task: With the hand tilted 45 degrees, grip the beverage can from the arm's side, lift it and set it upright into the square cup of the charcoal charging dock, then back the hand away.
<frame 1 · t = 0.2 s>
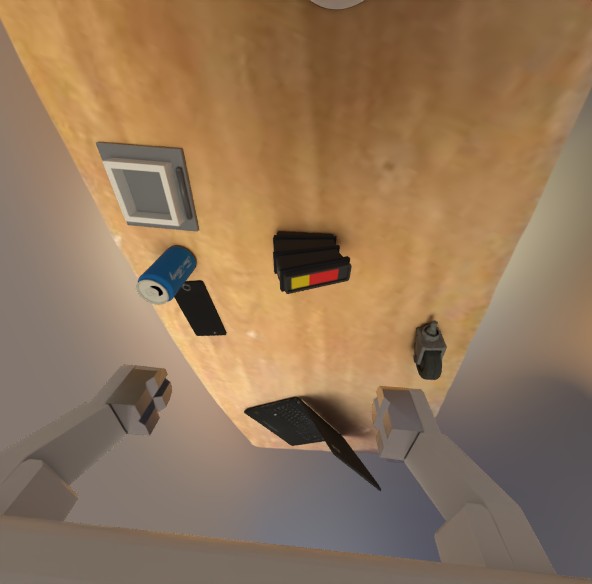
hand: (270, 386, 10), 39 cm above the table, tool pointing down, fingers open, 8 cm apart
caster wheel: (423, 335, 62), on the table
beverage can: (183, 257, 54), on the table
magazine: (311, 239, 48), on the table
cell phone: (200, 308, 64), on the table
laptop: (309, 418, 95), on the table
charging dock: (153, 189, 45), on the table
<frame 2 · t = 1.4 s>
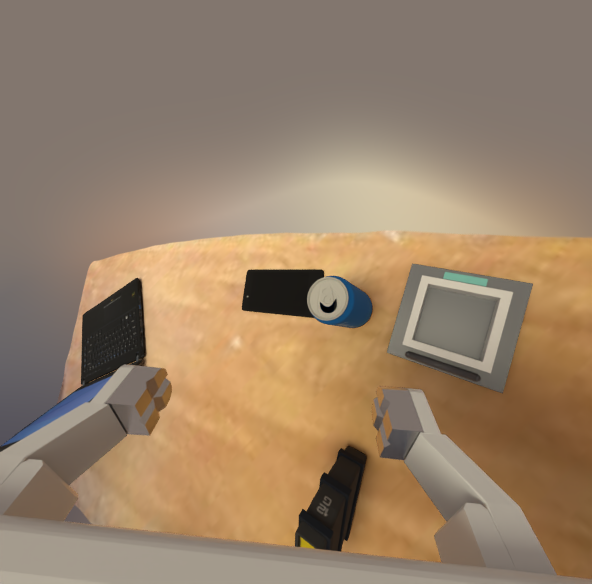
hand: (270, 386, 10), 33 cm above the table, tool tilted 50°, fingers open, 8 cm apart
beverage can: (354, 308, 42), on the table
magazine: (347, 491, 38), on the table
cell phone: (282, 292, 51), on the table
laptop: (115, 355, 76), on the table
charging dock: (452, 321, 35), on the table
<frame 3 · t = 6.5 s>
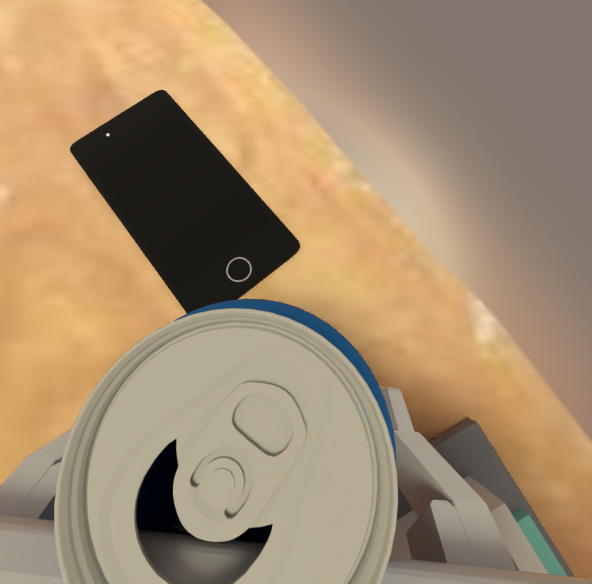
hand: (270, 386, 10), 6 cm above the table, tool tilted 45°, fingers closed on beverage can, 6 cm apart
beverage can: (282, 381, 16), on the table, touching gripper
cell phone: (184, 201, 19), on the table
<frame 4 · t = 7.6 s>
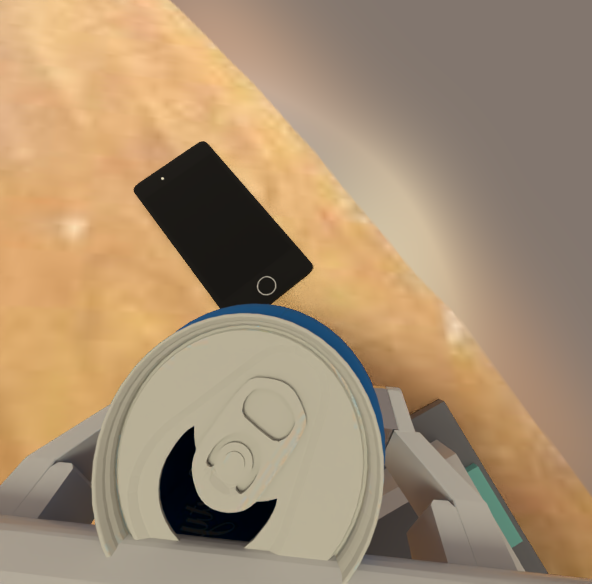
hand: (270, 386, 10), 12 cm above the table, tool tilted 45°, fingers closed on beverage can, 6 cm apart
beverage can: (283, 378, 17), point 5 cm above the table, touching gripper
cell phone: (222, 230, 25), on the table
charging dock: (411, 536, 18), on the table
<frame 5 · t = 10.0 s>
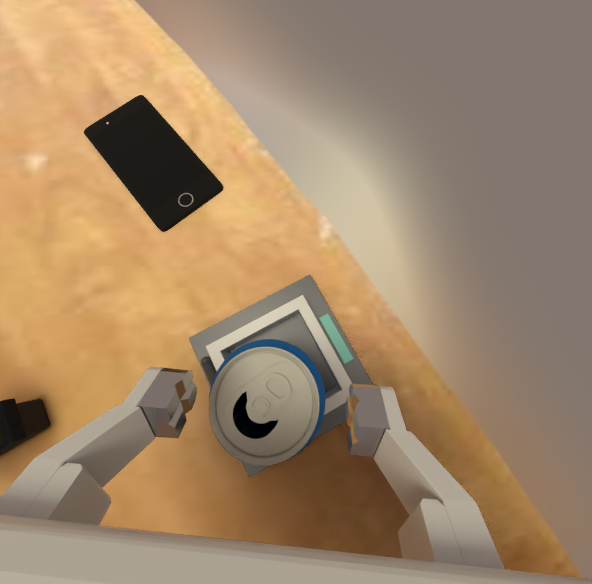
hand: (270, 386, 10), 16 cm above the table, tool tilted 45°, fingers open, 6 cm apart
beverage can: (280, 376, 25), point 1 cm above the table, touching charging dock
cell phone: (155, 163, 32), on the table
charging dock: (282, 367, 25), on the table
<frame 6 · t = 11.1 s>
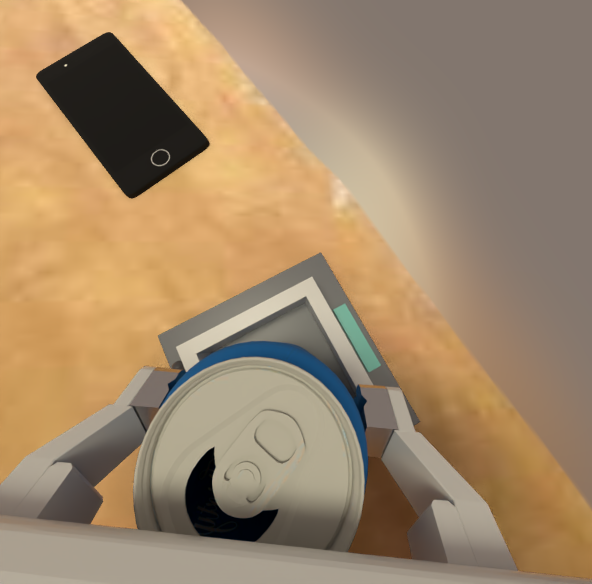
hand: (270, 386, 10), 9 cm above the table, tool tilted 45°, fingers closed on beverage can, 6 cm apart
beverage can: (281, 388, 18), point 1 cm above the table, touching charging dock, gripper
cell phone: (125, 116, 25), on the table
charging dock: (283, 375, 19), on the table
when the fingers open (9 cm above the table, at t = 11.7 s): beverage can stays where it is, resting on charging dock.
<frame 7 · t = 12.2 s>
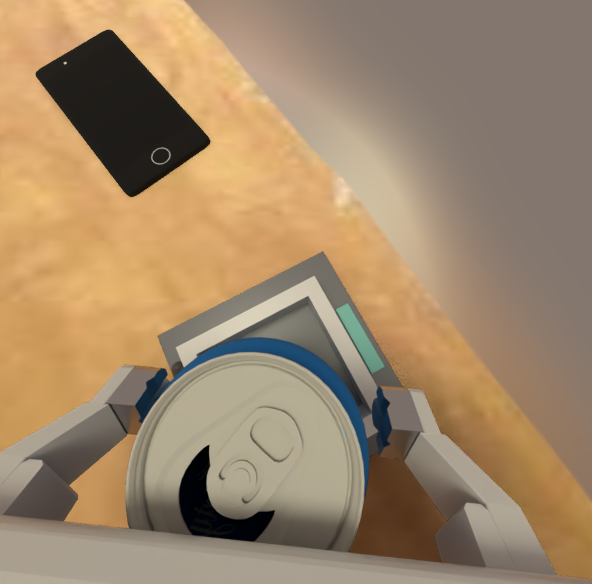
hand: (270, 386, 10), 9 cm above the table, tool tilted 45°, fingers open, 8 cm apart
beverage can: (283, 389, 18), point 1 cm above the table, touching charging dock
cell phone: (125, 114, 25), on the table
charging dock: (285, 376, 19), on the table
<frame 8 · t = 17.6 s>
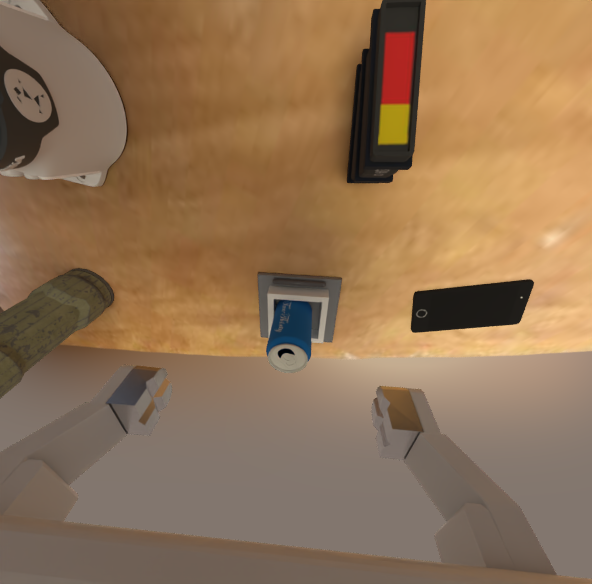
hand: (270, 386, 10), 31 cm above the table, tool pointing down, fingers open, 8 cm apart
beverage can: (294, 308, 45), point 1 cm above the table, touching charging dock
thermos: (91, 288, 47), on the table
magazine: (365, 118, 30), on the table
cell phone: (465, 305, 44), on the table
charging dock: (298, 308, 46), on the table
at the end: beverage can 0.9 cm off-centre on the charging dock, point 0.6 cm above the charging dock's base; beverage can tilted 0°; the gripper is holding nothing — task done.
